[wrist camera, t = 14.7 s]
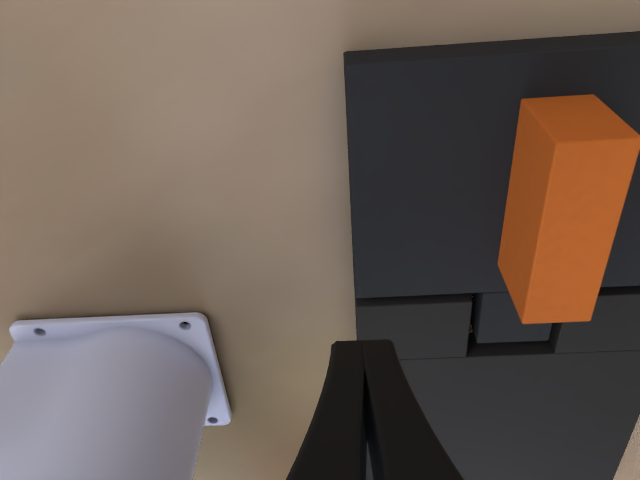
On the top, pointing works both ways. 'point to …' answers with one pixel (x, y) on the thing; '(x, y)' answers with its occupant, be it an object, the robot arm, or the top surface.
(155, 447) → the robot arm
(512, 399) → the black pad
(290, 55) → the top surface
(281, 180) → the top surface
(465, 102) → the charcoal pad
